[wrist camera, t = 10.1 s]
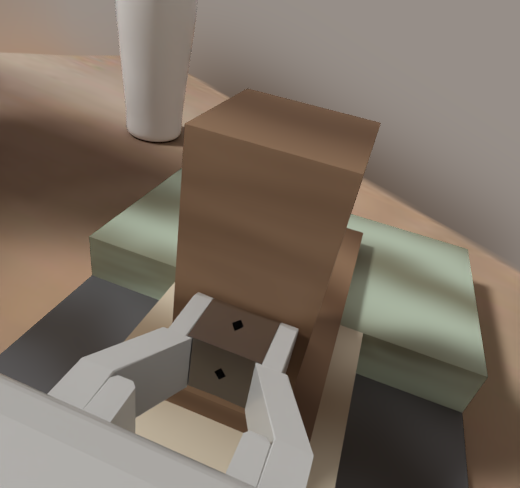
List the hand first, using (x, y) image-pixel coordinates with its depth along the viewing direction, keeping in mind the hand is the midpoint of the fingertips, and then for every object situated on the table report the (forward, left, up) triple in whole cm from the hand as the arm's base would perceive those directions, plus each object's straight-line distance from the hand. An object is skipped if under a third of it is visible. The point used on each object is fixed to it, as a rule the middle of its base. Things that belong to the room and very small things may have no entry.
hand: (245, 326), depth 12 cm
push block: (+5, +5, -5) cm, 8 cm away
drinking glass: (+5, +34, -8) cm, 35 cm away
